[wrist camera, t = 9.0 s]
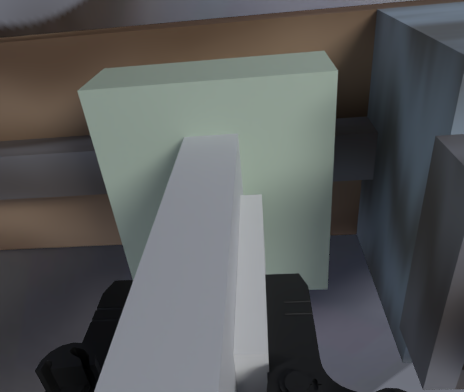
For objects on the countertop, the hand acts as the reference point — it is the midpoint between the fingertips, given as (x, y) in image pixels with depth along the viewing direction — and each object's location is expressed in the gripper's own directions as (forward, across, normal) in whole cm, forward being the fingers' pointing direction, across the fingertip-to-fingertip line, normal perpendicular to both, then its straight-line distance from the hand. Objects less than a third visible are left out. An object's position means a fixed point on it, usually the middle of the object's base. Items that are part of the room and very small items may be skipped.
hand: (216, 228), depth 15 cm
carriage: (+7, 0, 0) cm, 7 cm away
